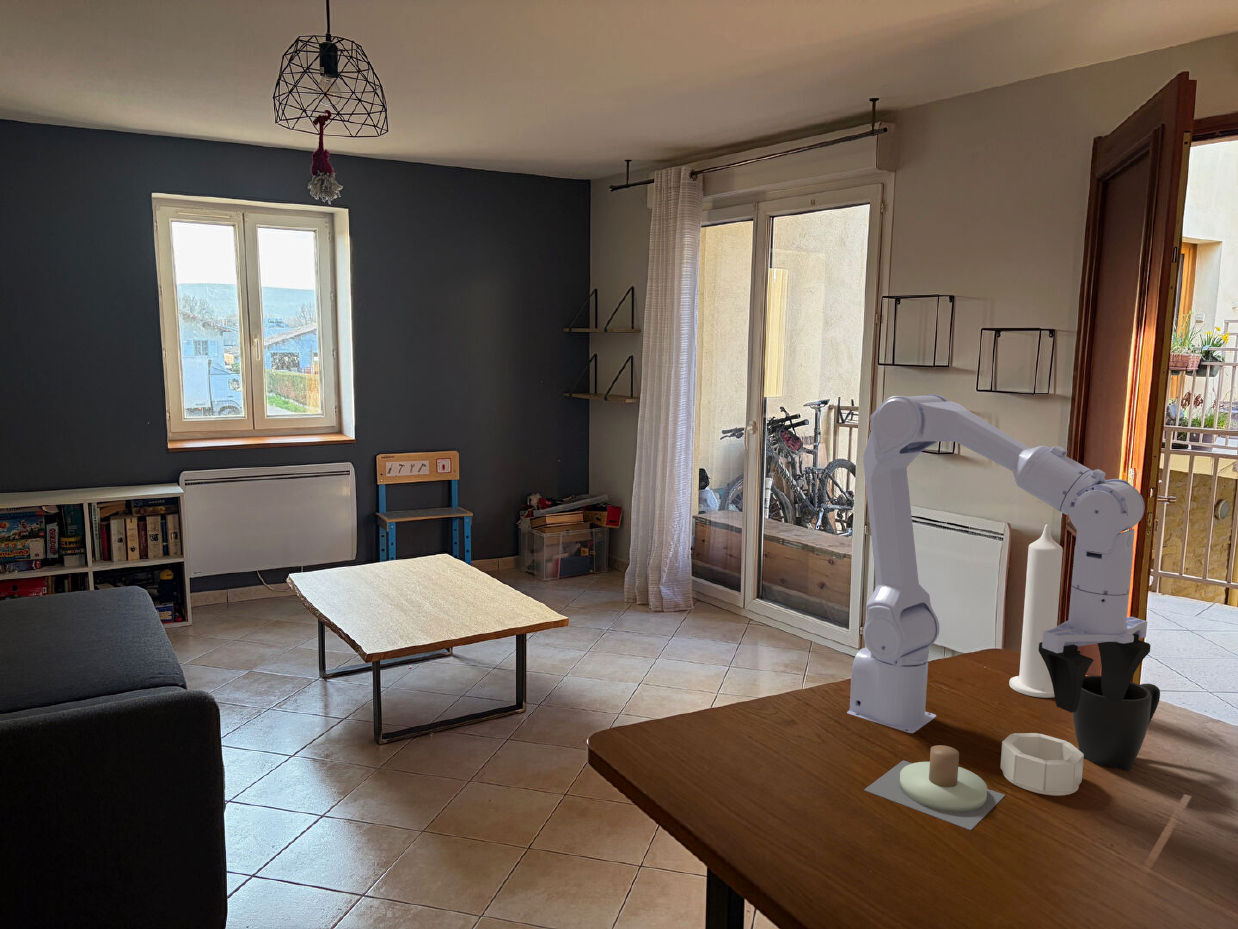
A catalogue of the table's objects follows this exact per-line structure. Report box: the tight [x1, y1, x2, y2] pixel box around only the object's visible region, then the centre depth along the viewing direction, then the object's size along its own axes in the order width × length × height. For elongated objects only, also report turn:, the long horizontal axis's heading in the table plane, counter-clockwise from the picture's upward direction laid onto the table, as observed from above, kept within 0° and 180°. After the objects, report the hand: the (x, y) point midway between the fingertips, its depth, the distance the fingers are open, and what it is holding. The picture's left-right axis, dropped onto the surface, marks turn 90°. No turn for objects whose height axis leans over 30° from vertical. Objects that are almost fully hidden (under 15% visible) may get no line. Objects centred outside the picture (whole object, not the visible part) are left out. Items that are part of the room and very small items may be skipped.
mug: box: [1072, 675, 1161, 772], centre depth 107 cm, size 8×12×10 cm
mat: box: [863, 759, 1006, 831], centre depth 98 cm, size 12×10×1 cm
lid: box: [900, 744, 988, 812], centre depth 98 cm, size 9×9×5 cm
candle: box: [1008, 524, 1064, 699], centre depth 129 cm, size 7×7×25 cm
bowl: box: [1000, 732, 1085, 796], centre depth 101 cm, size 8×8×4 cm
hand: (1089, 704), depth 100 cm, fingers open, 7 cm apart
